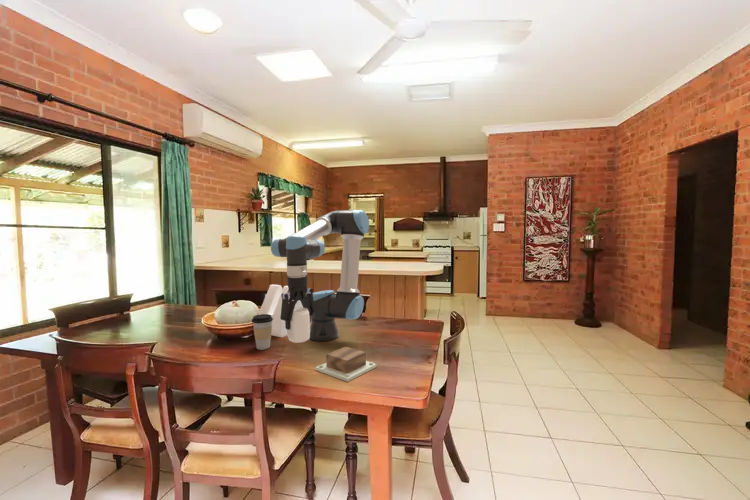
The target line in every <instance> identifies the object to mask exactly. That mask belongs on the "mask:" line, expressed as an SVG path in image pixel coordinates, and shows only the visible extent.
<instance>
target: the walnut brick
mask: <svg viewBox="0 0 750 500" xmlns="http://www.w3.org/2000/svg"><path fill="white" fill-rule="evenodd" d="M325 361H326V362H325V363H327V367H329V368H332V369H335V370H338V371H341V372H344V373H347V374H348V373H350V372H352V371H354V370H356V369H358V368H360V367H362V366H364V365H366V361H367V352H366V351H363V350H360V349H356V348H352V347H349V346H343V347H341V348H337V349H335V350H334V351H330V352H329V353H328V352H327V353H326V359H325Z"/></svg>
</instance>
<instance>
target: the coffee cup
mask: <svg viewBox="0 0 750 500" xmlns="http://www.w3.org/2000/svg"><path fill="white" fill-rule="evenodd" d="M272 320H273V318H272V317H271V315H269V314H260V315H259V314H256V315H254V316H253V317H252V319H251V323H252V325H253V335H254V339H255V340H254V341H255V347H256V350H260V351H263V350H267V349H269V348H271V338H272V335H271V331H272Z"/></svg>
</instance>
